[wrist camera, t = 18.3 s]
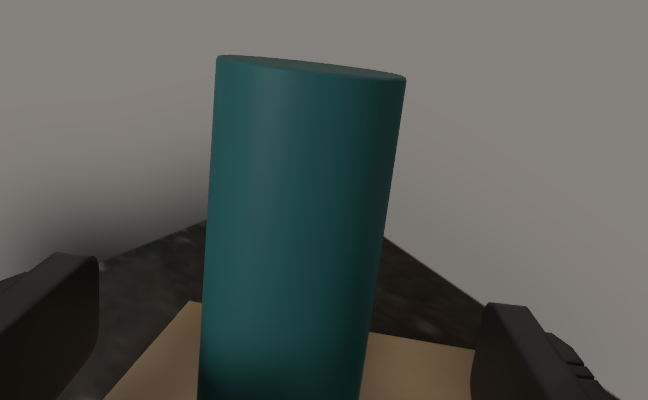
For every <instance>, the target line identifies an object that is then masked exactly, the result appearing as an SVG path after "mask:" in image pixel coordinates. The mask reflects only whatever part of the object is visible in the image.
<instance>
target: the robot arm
mask: <svg viewBox="0 0 648 400" xmlns="http://www.w3.org/2000/svg"><path fill="white" fill-rule="evenodd" d="M98 329H99V266H98V261H97V259H96V258H95V257H94V256H88V255H80V254H79V255H78V254H71V253H62V252H56V253H54V254H52V255H51V256H49V257H48V258H47V259H45V260H44V261H43V262H41V263H40V264H38V265H37V266H36V267H35V268H33V269H32V270H30V271H29V272H24V273H21V274H18V275H15V276H13V277H10V278H7V279H5V280H2V281H0V400H56V399H57V397H58V396H59V395H60V394H61V392H62V391H63V390H64V389H65V387H66V386H67V385H68V384H69V382H70V381H71V380H72V378H73V377H74V376H75V375H76V373H77V372H78V371H79V370H80V368H81V367H82V366H83V365H84V363H85V362H86V361H87V360H88V358H89V357H90V355H91V354H92V352H93V349H94V347H95V344H96V340H97V336H98ZM470 393H471V399H472V400H612V399H611V398H610V397H609V395H608V394H607V393H606V391H605V390H604V389H603V388H602V386H601V385H600V384H599V382H598V381H597V380H594V376H593V375H592V373H591V372H590V370H589V369H588V368H587V367H584V363H583V361H582V360H581V359H580V358H579V356H578V355H577V354H576V352H575V351H574V349H573V348H572V347H570V346H569V345H568V344H566V343H565V342H563V341H562V340H561V339H559V338H558V337H556V336H555V335H554V334H552V333H546V332H545V331H544V330H543V329H542V327H541V326H540V324H539V323H538V322H537V320H536V319H535V317H534V316H533V315H532V313H531V312H530V310H529V309H528V308H527V307H526V306H518V305H509V304H500V303H491V302H490V303H488V304H487V305H486V306H485V309H484V312H483V315H482V320H481V325H480V330H479V334H478V339H477V344H476V349H475V354H474V358H473V363H472V368H471V375H470Z"/></svg>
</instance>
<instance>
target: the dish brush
mask: <svg viewBox="0 0 648 400" xmlns="http://www.w3.org/2000/svg"><path fill="white" fill-rule="evenodd" d="M405 87H406V78H405V77H403V76H401V75H397V74H393V73H387V72H381V71H375V70H369V69H362V68H355V67H348V66H340V65H333V64H324V63H315V62H307V61H298V60H288V59H278V58H267V57H254V56H240V55H221V56H218V57H217V59H216V73H215V90H214V108H213V125H212V143H211V160H210V177H209V194H208V212H207V229H206V246H205V264H204V281H203V298H202V316H201V333H200V350H199V368H198V385H197V400H359V396H360V390H361V383H362V376H363V369H364V363H365V356H366V349H367V343H368V336H369V329H370V322H371V316H372V309H373V302H374V295H375V289H376V282H377V275H378V269H379V262H380V255H381V248H382V242H383V235H384V228H385V221H386V214H387V208H388V201H389V194H390V188H391V181H392V174H393V168H394V161H395V154H396V146H397V140H398V134H399V127H400V120H401V114H402V107H403V100H404V93H405Z"/></svg>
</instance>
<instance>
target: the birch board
mask: <svg viewBox="0 0 648 400" xmlns="http://www.w3.org/2000/svg"><path fill="white" fill-rule="evenodd" d="M201 316H202V303H198V302H192V301H189V302H188V303H187V304H186V305H185V306H184V308H183V309H182V310H181V311H180V312H179V313H178V314H177V316H176V317H175V318H174V319H173V320H172V321H171V322H170V323H169V325H168V326H167V327H166V328H165V329H164V330H163V331H162V333H161V334H160V335H159V336H158V337H157V338H156V339H155V341H154V342H153V343H152V344H151V345H150V346H149V347H148V349H147V350H146V351H145V352H144V353H143V354H142V355H141V357H140V358H139V359H138V360H137V361H136V362H135V363H134V365H133V366H132V367H131V368H130V369H129V370H128V371H127V373H126V374H125V375H124V376H123V377H122V378H121V379H120V381H119V382H118V383H117V384H116V385H115V386H114V387H113V388H112V390H111V391H110V392H109V393H108V394H107V395H106V396H105V398H104V399H103V400H197V385H198V368H199V350H200V333H201ZM474 354H475V350H470V349H464V348H458V347H453V346H447V345H441V344H435V343H430V342H424V341H418V340H412V339H406V338H401V337H395V336H389V335H383V334H377V333H372V332H369V336H368V343H367V349H366V356H365V363H364V369H363V376H362V383H361V390H360V396H359V400H472V399H471V393H470V375H471V368H472V363H473V358H474Z"/></svg>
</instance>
